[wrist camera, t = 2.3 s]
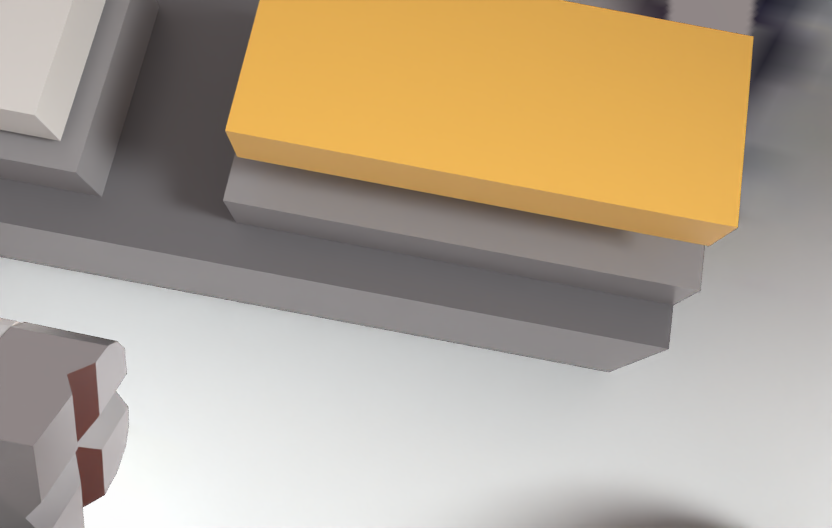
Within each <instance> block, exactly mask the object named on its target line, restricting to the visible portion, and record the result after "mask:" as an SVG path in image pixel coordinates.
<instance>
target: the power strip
mask: <svg viewBox="0 0 832 528" xmlns="http://www.w3.org/2000/svg"><path fill="white" fill-rule="evenodd" d="M259 1H260V0H106V2H105V5H104V8H103V11H102V14H101V17H100V20H99V23H98V26H97V30H96V33H95V36H94V39H93V42H92V45H91V48H90V51H89V54H88V57H87V60H86V64H85V67H84V70H83V73H82V76H81V79H80V82H79V85H78V88H77V91H76V95H75V98H74V101H73V104H72V107H71V110H70V113H69V116H68V119H67V122H66V126H65V129H64V132H63V135H62V138H61V141H57V140H52V139H47V138H42V137H36V136H31V135H26V134H20V133H15V132H10V131H5V130H0V257H5V258H10V259H15V260H21V261H26V262H31V263H37V264H42V265H47V266H52V267H58V268H63V269H68V270H73V271H79V272H84V273H89V274H95V275H100V276H105V277H110V278H116V279H121V280H126V281H132V282H137V283H142V284H147V285H153V286H158V287H163V288H168V289H174V290H179V291H184V292H190V293H195V294H200V295H205V296H211V297H216V298H221V299H227V300H232V301H237V302H242V303H248V304H253V305H258V306H263V307H269V308H274V309H279V310H285V311H290V312H295V313H300V314H306V315H311V316H316V317H322V318H327V319H332V320H337V321H343V322H348V323H353V324H358V325H364V326H369V327H374V328H380V329H385V330H390V331H395V332H401V333H406V334H411V335H417V336H422V337H427V338H432V339H438V340H443V341H448V342H453V343H459V344H464V345H469V346H475V347H480V348H485V349H490V350H496V351H501V352H506V353H511V354H517V355H522V356H527V357H533V358H538V359H543V360H548V361H554V362H559V363H564V364H570V365H575V366H580V367H585V368H591V369H596V370H601V371H606V372H611V371H613V370H616V369H618V368H621V367H623V366H626V365H629V364H631V363H634V362H636V361H639V360H641V359H644V358H647V357H649V356H652V355H654V354H657V353H659V352H662V351H665V350H667V349H669V342H670V332H671V322H672V312H673V305H675V304H677V303H678V302H680V301H682V300H684V299H686V298H688V297H690V296H692V295H694V294H695V293H697V292H699V291H701V280H702V269H703V258H704V248H705V245H700V244H695V243H690V242H684V241H679V240H674V239H669V238H663V237H658V236H653V235H647V234H642V233H637V232H632V231H626V230H621V229H616V228H610V227H605V226H600V225H595V224H589V223H584V222H579V221H573V220H568V219H563V218H558V217H552V216H547V215H542V214H536V213H531V212H526V211H521V210H515V209H510V208H505V207H499V206H494V205H489V204H484V203H478V202H473V201H468V200H462V199H457V198H452V197H447V196H441V195H436V194H431V193H425V192H420V191H415V190H410V189H404V188H399V187H394V186H389V185H383V184H378V183H373V182H367V181H362V180H357V179H352V178H346V177H341V176H336V175H330V174H325V173H320V172H315V171H309V170H304V169H299V168H293V167H288V166H283V165H278V164H272V163H267V162H262V161H256V160H251V159H246V158H241V157H237V155H236V153H235V151H234V149H233V146H232V144H231V142H230V140H229V138H228V136H227V134H226V131H225V129H226V125H227V121H228V118H229V114H230V110H231V106H232V103H233V99H234V95H235V91H236V88H237V84H238V80H239V76H240V72H241V69H242V65H243V61H244V57H245V54H246V50H247V46H248V42H249V39H250V35H251V31H252V27H253V24H254V20H255V16H256V12H257V9H258V5H259Z"/></svg>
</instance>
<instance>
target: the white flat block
mask: <svg viewBox="0 0 832 528" xmlns="http://www.w3.org/2000/svg"><path fill="white" fill-rule="evenodd" d="M105 2H106V0H0V130H5V131H10V132H15V133H20V134H26V135H31V136H36V137H42V138H47V139H52V140H57V141H61V138H62V135H63V132H64V129H65V126H66V122H67V119H68V116H69V113H70V110H71V107H72V104H73V101H74V98H75V95H76V91H77V88H78V85H79V82H80V79H81V76H82V73H83V70H84V67H85V64H86V60H87V57H88V54H89V51H90V48H91V45H92V42H93V39H94V36H95V33H96V30H97V26H98V23H99V20H100V17H101V14H102V11H103V8H104V5H105Z"/></svg>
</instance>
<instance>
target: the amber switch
mask: <svg viewBox="0 0 832 528" xmlns="http://www.w3.org/2000/svg"><path fill="white" fill-rule="evenodd" d="M752 49H753V36H748V35H742V34H738V33H732V32H727V31H722V30H716V29H711V28H705V27H700V26H695V25H690V24H685V23H679V22H674V21H669V20H664V19H658V18H653V17H648V16H642V15H637V14H632V13H626V12H621V11H616V10H611V9H605V8H600V7H595V6H589V5H584V4H579V3H574V2H568V1H563V0H260V1H259V5H258V9H257V12H256V16H255V20H254V24H253V27H252V31H251V35H250V39H249V42H248V46H247V50H246V54H245V57H244V61H243V65H242V69H241V72H240V76H239V80H238V84H237V88H236V91H235V95H234V99H233V103H232V106H231V110H230V114H229V118H228V121H227V125H226V129H225V131H226V134H227V136H228V138H229V140H230V142H231V144H232V146H233V149H234V151H235V153H236V155H237V157H241V158H246V159H251V160H256V161H262V162H267V163H272V164H278V165H283V166H288V167H293V168H299V169H304V170H309V171H315V172H320V173H325V174H330V175H336V176H341V177H346V178H352V179H357V180H362V181H367V182H373V183H378V184H383V185H389V186H394V187H399V188H404V189H410V190H415V191H420V192H425V193H431V194H436V195H441V196H447V197H452V198H457V199H462V200H468V201H473V202H478V203H484V204H489V205H494V206H499V207H505V208H510V209H515V210H521V211H526V212H531V213H536V214H542V215H547V216H552V217H558V218H563V219H568V220H573V221H579V222H584V223H589V224H595V225H600V226H605V227H610V228H616V229H621V230H626V231H632V232H637V233H642V234H647V235H653V236H658V237H663V238H669V239H674V240H679V241H684V242H690V243H695V244H700V245H705V246H710V245H712V244H713V243H715V242H717V241H718V240H720V239H721V238H723V237H724V236H726V235H727V234H729V233H730V232H732V231H733V230H735V229H736V228H738V220H739V207H740V195H741V183H742V171H743V159H744V147H745V135H746V122H747V110H748V98H749V86H750V74H751V62H752Z"/></svg>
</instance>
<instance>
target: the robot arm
mask: <svg viewBox="0 0 832 528" xmlns="http://www.w3.org/2000/svg"><path fill="white" fill-rule="evenodd" d="M126 374H127V368H126V356H125V348H124V347H123V346H122V345H121V344H120V343H119V342H118V341H114V340H109V339H104V338H99V337H94V336H90V335H85V334H80V333H75V332H70V331H66V330H61V329H56V328H51V327H46V326H41V325H37V324H32V323H27V322H23V323H21V322H18V321H13V320H8V319H3V318H0V528H84V516H83V507H85V506H86V505H88V504H90V503H92V502H93V501H95V500H97V499H99V498H100V497H102V496H104V495H105V494H106V492H107V490H108V488H109V486H110V485H111V483H112V481H113V479H114V477H115V475H116V474H117V471H118V468H119V465H120V462H121V459H122V456H123V453H124V450H125V447H126V442H127V435H128V428H129V410H128V406H127V404H126V403H125V402H124V401H123V399H122V398H121V397H120V395H119V394H118V393H117V392H116V390H117V388H118V387H119V385H120V384H121V382H122V381H123V379H124V377H125V376H126Z"/></svg>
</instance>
